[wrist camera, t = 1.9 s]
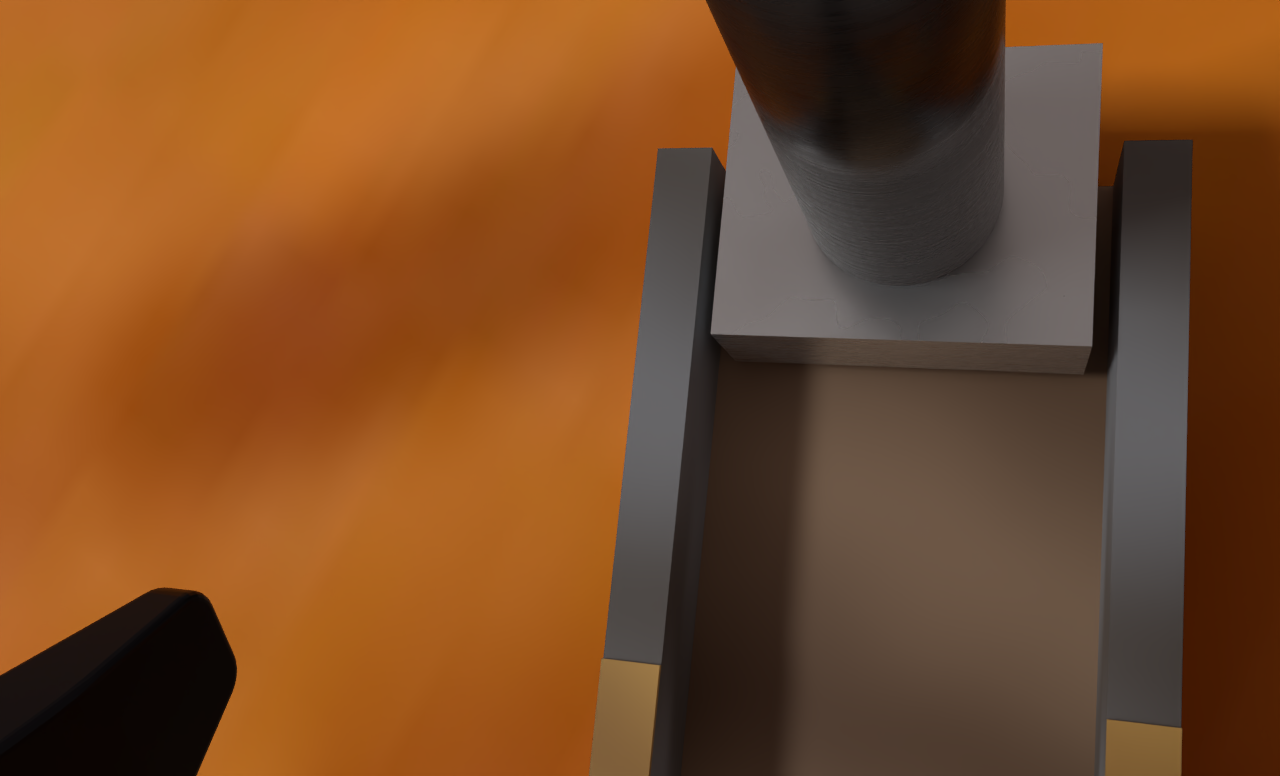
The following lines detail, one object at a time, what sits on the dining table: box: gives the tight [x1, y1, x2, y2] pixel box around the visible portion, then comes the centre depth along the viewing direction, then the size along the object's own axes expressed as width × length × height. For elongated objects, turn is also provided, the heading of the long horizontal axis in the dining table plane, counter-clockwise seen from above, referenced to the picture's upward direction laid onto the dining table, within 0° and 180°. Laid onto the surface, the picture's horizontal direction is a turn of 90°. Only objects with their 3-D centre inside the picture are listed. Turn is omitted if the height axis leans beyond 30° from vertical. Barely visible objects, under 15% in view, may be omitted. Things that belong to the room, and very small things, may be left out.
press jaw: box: [706, 0, 1103, 375], centre depth 15 cm, size 5×6×13 cm
